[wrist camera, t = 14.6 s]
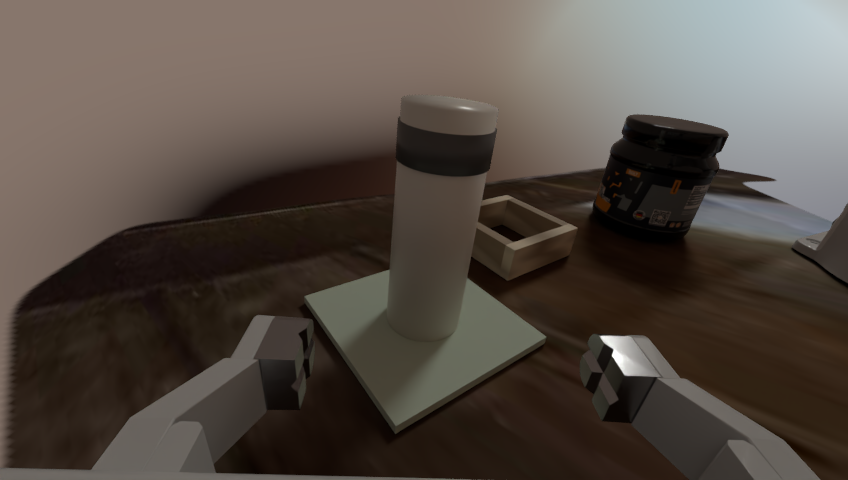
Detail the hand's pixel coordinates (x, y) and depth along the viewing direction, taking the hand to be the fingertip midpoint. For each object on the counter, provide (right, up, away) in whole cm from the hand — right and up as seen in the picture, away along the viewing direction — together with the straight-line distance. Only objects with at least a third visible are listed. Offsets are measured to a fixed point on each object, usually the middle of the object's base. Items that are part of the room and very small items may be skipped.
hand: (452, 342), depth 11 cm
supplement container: (+25, +5, +34) cm, 43 cm away
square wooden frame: (+7, +2, +26) cm, 27 cm away
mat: (-1, -3, +15) cm, 15 cm away
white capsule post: (-1, -2, +15) cm, 15 cm away
